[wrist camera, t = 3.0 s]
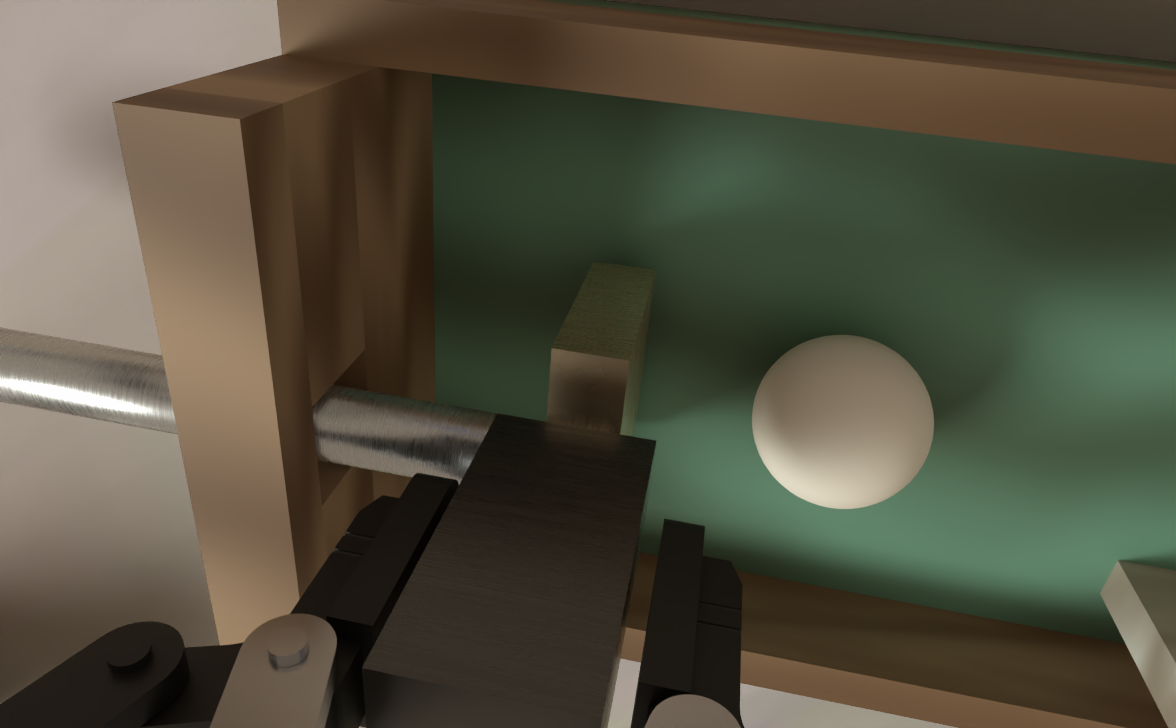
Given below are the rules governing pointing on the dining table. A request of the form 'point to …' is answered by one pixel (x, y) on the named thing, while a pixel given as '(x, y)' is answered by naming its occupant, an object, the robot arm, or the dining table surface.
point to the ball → (842, 421)
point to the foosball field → (704, 314)
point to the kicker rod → (463, 513)
